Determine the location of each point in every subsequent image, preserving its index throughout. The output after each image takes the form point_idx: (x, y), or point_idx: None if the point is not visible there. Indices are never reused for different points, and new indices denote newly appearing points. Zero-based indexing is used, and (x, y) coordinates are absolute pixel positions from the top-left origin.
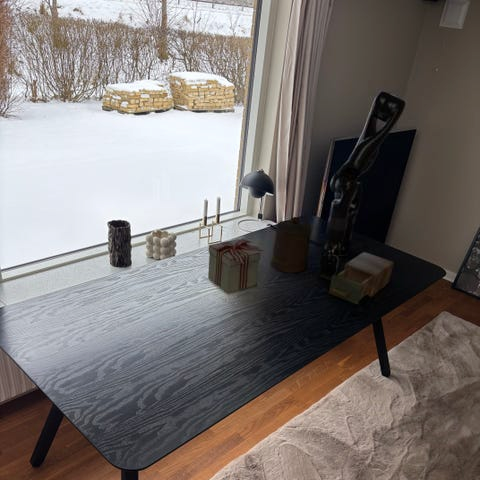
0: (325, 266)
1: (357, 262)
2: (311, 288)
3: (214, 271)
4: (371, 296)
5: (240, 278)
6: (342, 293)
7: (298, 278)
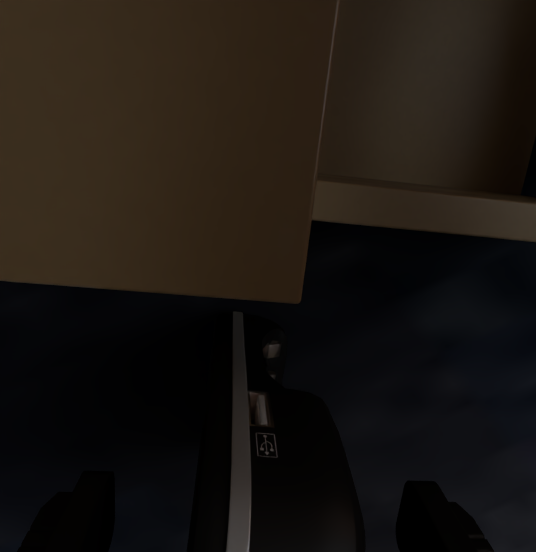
0: (456, 512)
1: (9, 99)
2: (487, 400)
3: None
4: None
5: None
6: None
7: (380, 543)
